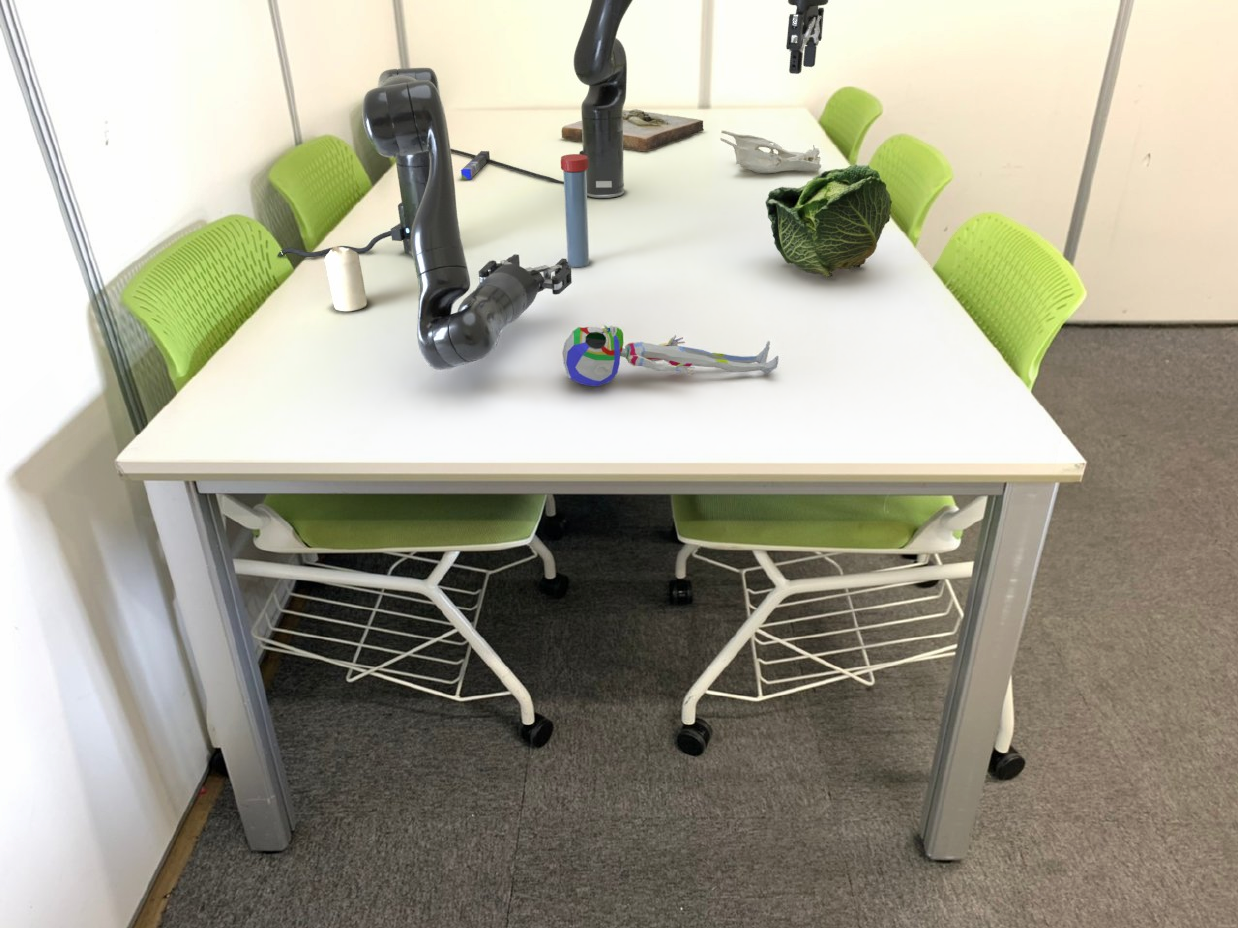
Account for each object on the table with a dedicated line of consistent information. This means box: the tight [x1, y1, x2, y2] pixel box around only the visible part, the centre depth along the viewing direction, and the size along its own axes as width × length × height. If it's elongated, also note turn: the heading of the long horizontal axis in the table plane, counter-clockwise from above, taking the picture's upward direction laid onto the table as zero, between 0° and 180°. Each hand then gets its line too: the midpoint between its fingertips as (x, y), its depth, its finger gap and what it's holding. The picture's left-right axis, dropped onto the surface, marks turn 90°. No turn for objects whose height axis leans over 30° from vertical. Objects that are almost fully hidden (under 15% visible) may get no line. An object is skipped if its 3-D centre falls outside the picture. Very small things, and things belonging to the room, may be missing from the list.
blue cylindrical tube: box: [562, 170, 590, 268], centre depth 164 cm, size 4×4×19 cm
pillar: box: [460, 150, 491, 180], centre depth 228 cm, size 2×2×20 cm
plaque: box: [561, 108, 705, 152], centre depth 257 cm, size 30×7×30 cm
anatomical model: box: [720, 130, 822, 174], centre depth 222 cm, size 15×9×25 cm
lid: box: [560, 153, 588, 172], centre depth 159 cm, size 5×5×2 cm
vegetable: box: [765, 164, 893, 278], centre depth 160 cm, size 20×19×20 cm
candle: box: [324, 246, 368, 312], centre depth 150 cm, size 6×6×10 cm
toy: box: [561, 325, 780, 387], centre depth 127 cm, size 10×8×30 cm
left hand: (541, 262), depth 150 cm, fingers open, 8 cm apart
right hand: (802, 70), depth 176 cm, fingers open, 8 cm apart
